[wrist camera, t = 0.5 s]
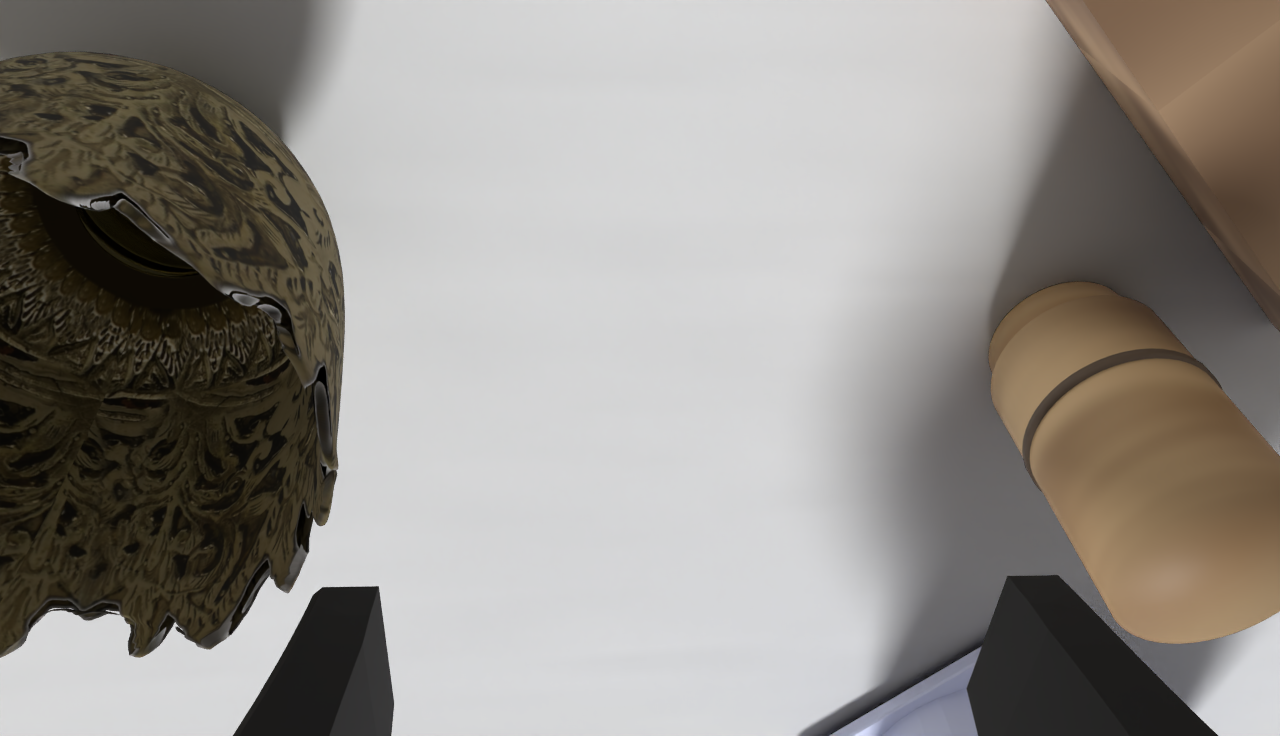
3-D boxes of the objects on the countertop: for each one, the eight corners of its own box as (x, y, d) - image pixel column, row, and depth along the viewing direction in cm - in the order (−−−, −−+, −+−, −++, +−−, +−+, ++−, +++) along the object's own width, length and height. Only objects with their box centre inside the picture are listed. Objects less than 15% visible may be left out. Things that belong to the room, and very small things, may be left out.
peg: (1177, 339, 22) (1372, 564, 17) (1028, 437, 24) (1167, 673, 18) (1093, 232, 21) (1281, 446, 15) (938, 345, 22) (1063, 577, 17)
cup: (-8, 314, 20) (-273, 656, 13) (-92, -96, 16) (-538, 111, 9) (394, 356, 21) (328, 687, 15) (416, -14, 17) (337, 219, 10)
